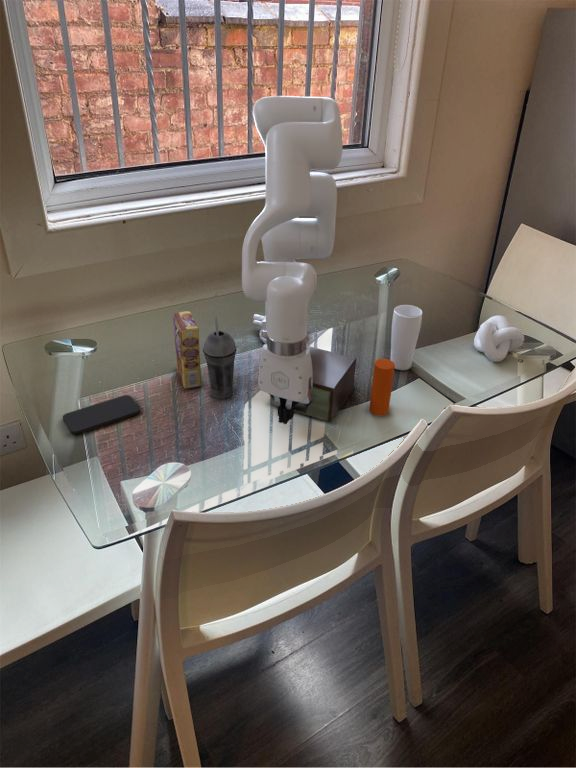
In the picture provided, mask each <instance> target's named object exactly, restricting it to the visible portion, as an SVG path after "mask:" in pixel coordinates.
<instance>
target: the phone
mask: <svg viewBox="0 0 576 768" xmlns="http://www.w3.org/2000/svg"><path fill="white" fill-rule="evenodd" d="M140 412H141V408H140V406H139V405H138V404H137V403H136V401H135V400H134V399H133V397H132V396H131V395H128V394H124V395H121V396H118V397H115V398H112V399H107V400H104V401H102V402H98V403H95V404H92V405H89V406H86V407H82V408H80V409H76V410H73V411H70V412H67V413H64V414H63V415H62V420H63V422H64V425H65V426H66V428H67V429H68V431H69V432H70V433H71V434H72V435H78V434H81V433H84V432H87V431H91V430H93V429H96V428H100V427H102V426H105V425H110V424H111V423H114V422H118V421H121V420H123V419H126V418H130V417H134V416H135V415H138V414H139V413H140Z"/></svg>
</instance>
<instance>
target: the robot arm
mask: <svg viewBox="0 0 576 768" xmlns="http://www.w3.org/2000/svg"><path fill="white" fill-rule="evenodd" d="M340 112H341V111H340V107H339V105H338V102H337V101H336V100H335V99H334V98H331V97H327V96H299V95H297V96H295V95H271V96H264V97H261V98H259V99H257V100H256V101H255V103H254V105H253V110H252V116H253V121H254V125H255V128H256V130H257V132H258V134H259V137H260V139H261V141H262V143H263V146H264V149H265V203H264V207H263V210H262V211H261V212H260V213H259V215H258V216H257V217H256V218H255V219H254V220H253V221H252V223H251V224H250V225H249V227H248V229H247V231H246V233H245V236H244V239H243V243H242V248H241V249H242V250H241V288H242V292H243V294H244V296H245V297H246V299H248V300H249V301H252V302H264V304H265V305H264V306H265V310H264V311H265V312H264V313H265V315H261V314H257V313H254V315H253V317H252V325H253V326H257V327H260V330H259V339H260V340H261V341H262V342H263V343H264V344H263V346H262V349H261V352H260V360H259V366H258V367H259V368H258V378H257V379H258V380H257V382H258V383H257V385H258V389H259V390H260V392H262V393H264V394H267V395H269V397H270V398H271V397H272V398H273V399H274V400H275V405H277V406H276V407H277V408H276V409H277V412H276V413H277V414H276V415H277V416H278V423H280V424H283V425H287V424H288V423H289V422H290V420H291V421H292V420H293V418H294V415H295V411H294V406H295V405H296V404H298V403H305V404H308V403H309V402H310V401H311V400H312V398H311V393H310V391H311V390H312V386H313V372H312V361H311V355H310V350H309V348H307V346H308V345H307V343H308V321H309V319H308V318H309V303H310V302H311V299H312V297H313V295H314V294H315V293H316V291H317V286H318V274H317V272H316V270H315V267H314V266H313V265H311V264H310V263H307V262H300V261H296V260H324V259H327V258H329V257H331V255H332V254H333V252H334V247H335V239H336V223H337V209H338V208H337V206H338V188H337V182H336V180H335V178H334V177H333V175H331V174H329V173H328V172H317V171H314V172H313V170H318V171H319V170H320V171H321V170H322V171H323V170H324V171H327V170H329V171H330V170H336V168H338V166H339V165H340V163H341V159H342V155H343V145H344V144H343V129H342V121H341V120H342V119H341V113H340ZM311 170H312V172H311ZM309 217H310V218H309ZM314 217H315V218H314ZM260 241H261V246H262V253H263V259H264V260H263V261H258V260H257V251H258V246H259V243H260ZM275 405H274V406H275Z"/></svg>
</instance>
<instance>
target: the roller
mask: <svg viewBox="0 0 576 768" xmlns="http://www.w3.org/2000/svg"><path fill="white" fill-rule="evenodd" d="M394 367H395V364H394V362H393V361H391V360H390V359H388V358H379V359H376V360H375V361H374V365H373V374H372V383H371V392H370V399H369V409H368V411H369V412H370V413H371V414H372V415H375V416H378V417H383V416H387V414H389V412H390V404H391V395H392V388H393V381H394V375H395V369H394Z"/></svg>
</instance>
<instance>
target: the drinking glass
mask: <svg viewBox="0 0 576 768" xmlns="http://www.w3.org/2000/svg"><path fill="white" fill-rule="evenodd" d="M422 323H423V310H422V309H421V308H419V307H418V306H416V305H411V304H400V305H397V306H395V307H394V308H393V314H392V319H391V332H390V333H391V335H390V359H389V360H391V361H393V362H394V364H395V367H394V370H397V371H408V370H410V369H411V368H412V367H413V361H414V355H415V351H416V348H417V344H418V340H419V336H420V333H421V328H422Z"/></svg>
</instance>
